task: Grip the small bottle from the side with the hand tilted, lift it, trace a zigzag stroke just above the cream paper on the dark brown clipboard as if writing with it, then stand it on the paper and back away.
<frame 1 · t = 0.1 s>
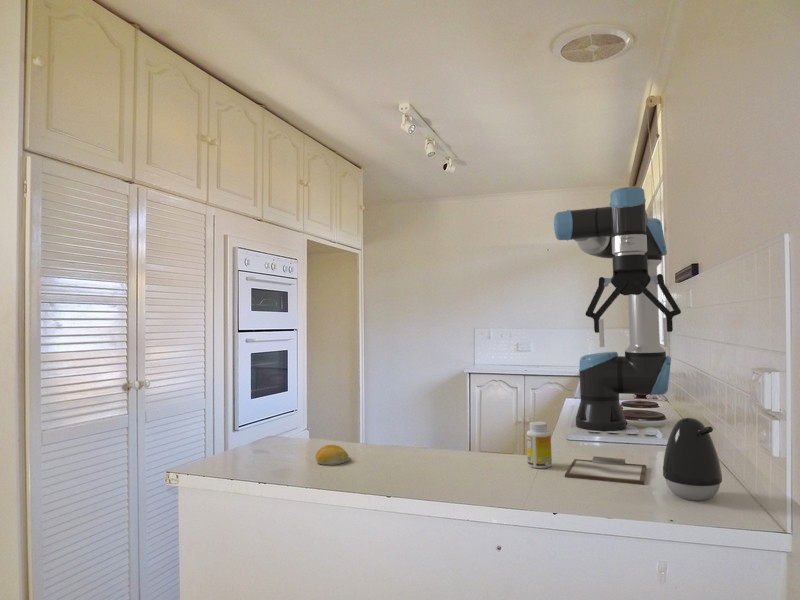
hand: (633, 347, 130), 28 cm above the countertop, tool pointing down, fingers open, 13 cm apart
clipboard: (606, 472, 127), on the countertop
pump dispenser: (693, 497, 109), on the countertop
bread roll: (331, 462, 144), on the countertop
supplement bottle: (539, 467, 134), on the countertop
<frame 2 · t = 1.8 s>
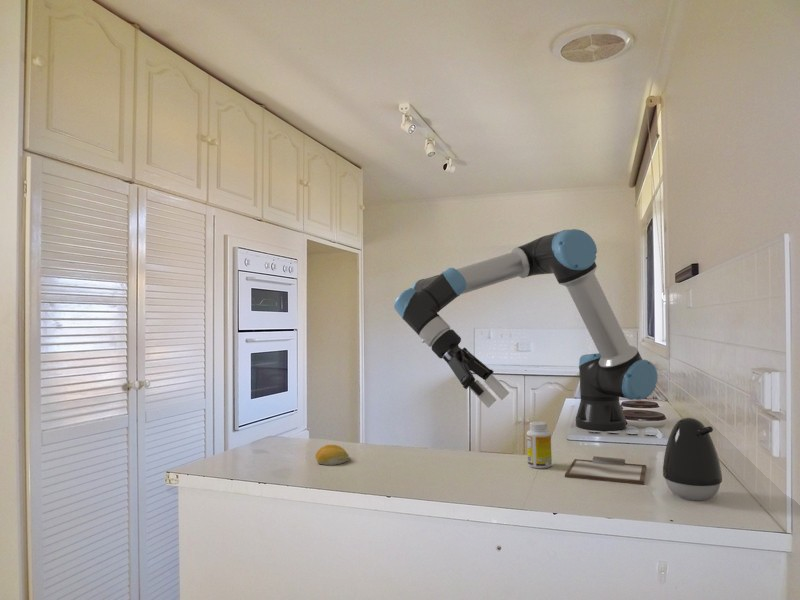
hand: (499, 400, 138), 15 cm above the countertop, tool tilted 45°, fingers open, 13 cm apart
nothing on the countertop moved.
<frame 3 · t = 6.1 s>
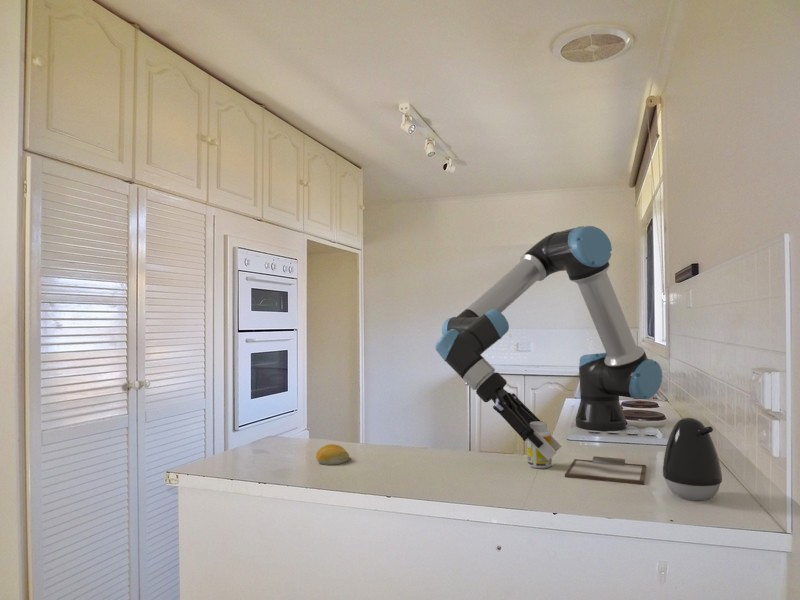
hand: (554, 453, 132), 3 cm above the countertop, tool tilted 45°, fingers closed on supplement bottle, 5 cm apart
supplement bottle: (539, 466, 134), on the countertop, touching gripper
everything else where it was.
when the fingers open (5 cm above the countertop, at t = 12.4 s): supplement bottle stays where it is, resting on clipboard.
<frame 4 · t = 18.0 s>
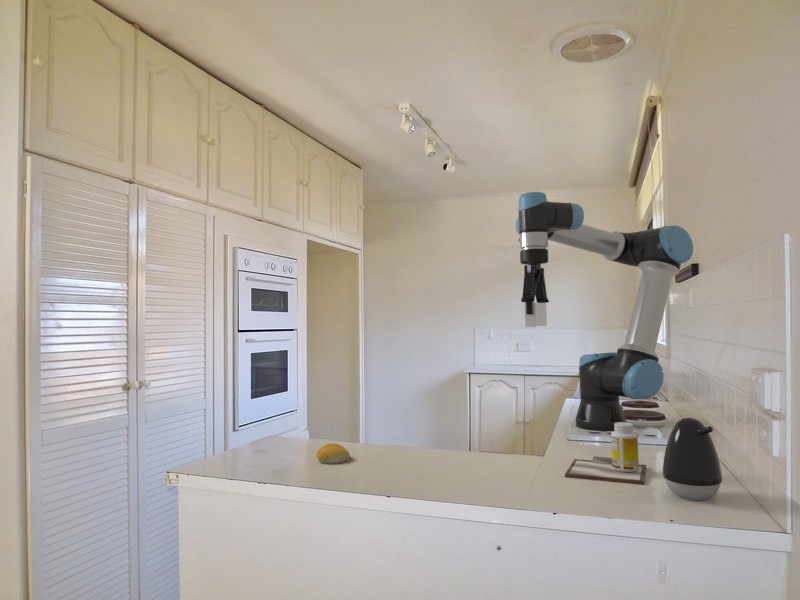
hand: (536, 326, 155), 33 cm above the countertop, tool pointing down, fingers open, 13 cm apart
supplement bottle: (625, 470, 126), resting on clipboard
at the end: supplement bottle inside the target area on the clipboard (4.0 cm from its centre), point 0.5 cm above the clipboard's base; supplement bottle tilted 0°; the gripper is holding nothing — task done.
